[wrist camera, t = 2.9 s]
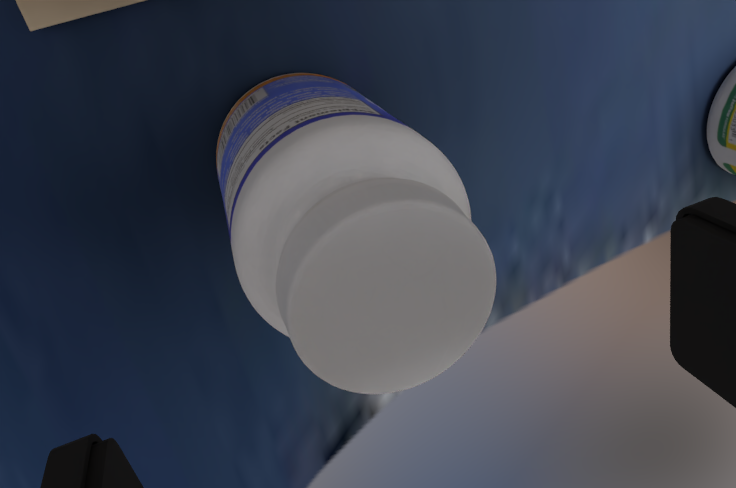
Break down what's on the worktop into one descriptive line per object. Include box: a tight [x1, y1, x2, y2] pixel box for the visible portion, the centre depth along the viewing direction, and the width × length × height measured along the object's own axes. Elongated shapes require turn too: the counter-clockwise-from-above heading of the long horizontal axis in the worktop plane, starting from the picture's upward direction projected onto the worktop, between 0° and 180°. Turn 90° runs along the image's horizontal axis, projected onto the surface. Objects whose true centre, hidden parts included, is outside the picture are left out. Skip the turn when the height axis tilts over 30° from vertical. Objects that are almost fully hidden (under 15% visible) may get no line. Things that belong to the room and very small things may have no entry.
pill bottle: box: [216, 73, 496, 394], centre depth 15 cm, size 5×5×10 cm
